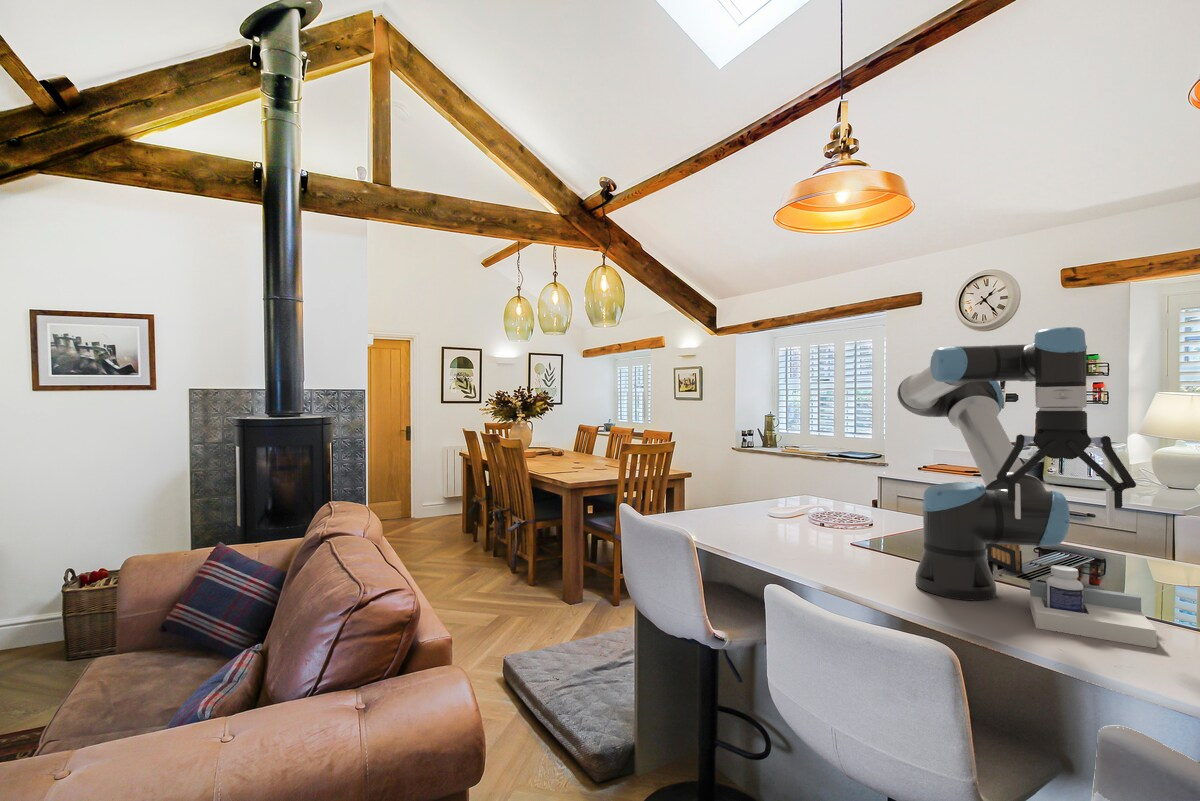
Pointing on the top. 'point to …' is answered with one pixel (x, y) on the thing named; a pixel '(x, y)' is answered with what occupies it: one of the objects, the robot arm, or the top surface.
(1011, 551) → the ammunition clip
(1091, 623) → the white slotted tray
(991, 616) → the top surface
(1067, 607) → the pill bottle
